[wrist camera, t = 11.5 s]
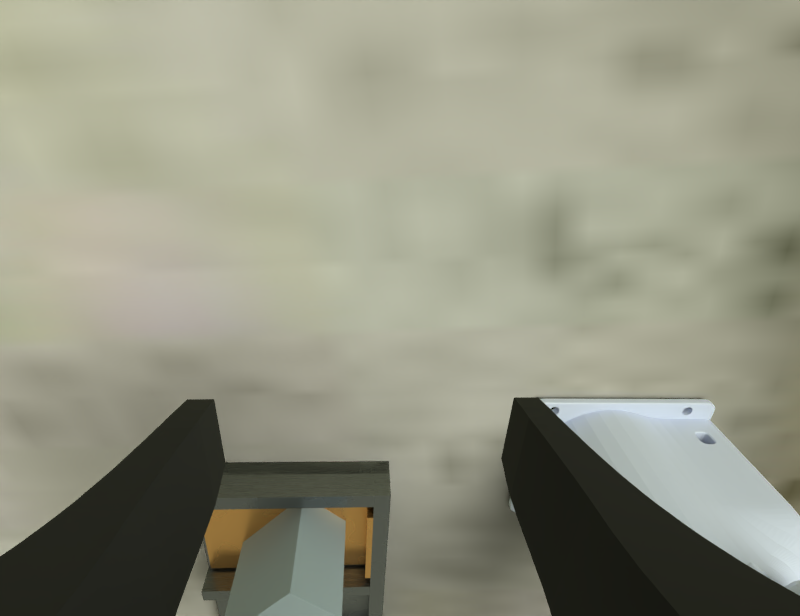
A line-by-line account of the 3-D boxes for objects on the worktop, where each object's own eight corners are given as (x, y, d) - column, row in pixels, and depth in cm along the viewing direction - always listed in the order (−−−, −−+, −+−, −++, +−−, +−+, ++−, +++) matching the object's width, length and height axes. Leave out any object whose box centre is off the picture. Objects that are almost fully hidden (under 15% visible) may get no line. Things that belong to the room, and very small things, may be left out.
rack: (388, 461, 25) (390, 495, 23) (374, 680, 36) (374, 715, 34) (194, 462, 24) (179, 498, 22) (240, 686, 35) (232, 723, 33)
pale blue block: (345, 521, 25) (341, 618, 21) (285, 564, 27) (270, 664, 22) (303, 495, 24) (290, 592, 20) (242, 542, 26) (217, 642, 21)
